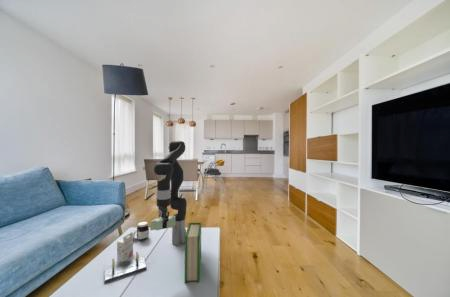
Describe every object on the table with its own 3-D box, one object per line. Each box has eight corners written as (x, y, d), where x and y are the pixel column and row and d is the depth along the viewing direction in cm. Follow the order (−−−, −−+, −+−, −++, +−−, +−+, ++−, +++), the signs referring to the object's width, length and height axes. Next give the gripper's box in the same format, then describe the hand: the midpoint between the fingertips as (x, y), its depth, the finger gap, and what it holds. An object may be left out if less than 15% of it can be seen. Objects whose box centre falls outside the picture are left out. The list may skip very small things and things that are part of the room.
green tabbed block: (173, 223, 111) (173, 215, 111) (176, 225, 108) (176, 217, 108) (149, 228, 104) (149, 219, 104) (151, 231, 100) (151, 222, 100)
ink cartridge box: (126, 253, 120) (126, 230, 121) (133, 254, 119) (133, 231, 120) (116, 260, 112) (116, 236, 112) (123, 261, 111) (123, 237, 111)
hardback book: (199, 282, 94) (199, 235, 95) (184, 283, 94) (185, 236, 94) (200, 261, 112) (201, 222, 112) (188, 262, 111) (189, 222, 112)
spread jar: (150, 239, 140) (150, 223, 140) (134, 244, 132) (134, 228, 133) (144, 233, 149) (144, 219, 149) (129, 238, 141) (129, 223, 141)
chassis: (142, 259, 114) (142, 246, 114) (146, 269, 104) (146, 256, 104) (104, 270, 103) (104, 257, 103) (104, 283, 93) (104, 268, 93)
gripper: (174, 199, 102) (173, 229, 102) (166, 194, 114) (166, 221, 114) (160, 201, 98) (159, 233, 98) (153, 195, 110) (153, 224, 109)
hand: (163, 226), depth 106 cm, fingers closed on green tabbed block, 4 cm apart
